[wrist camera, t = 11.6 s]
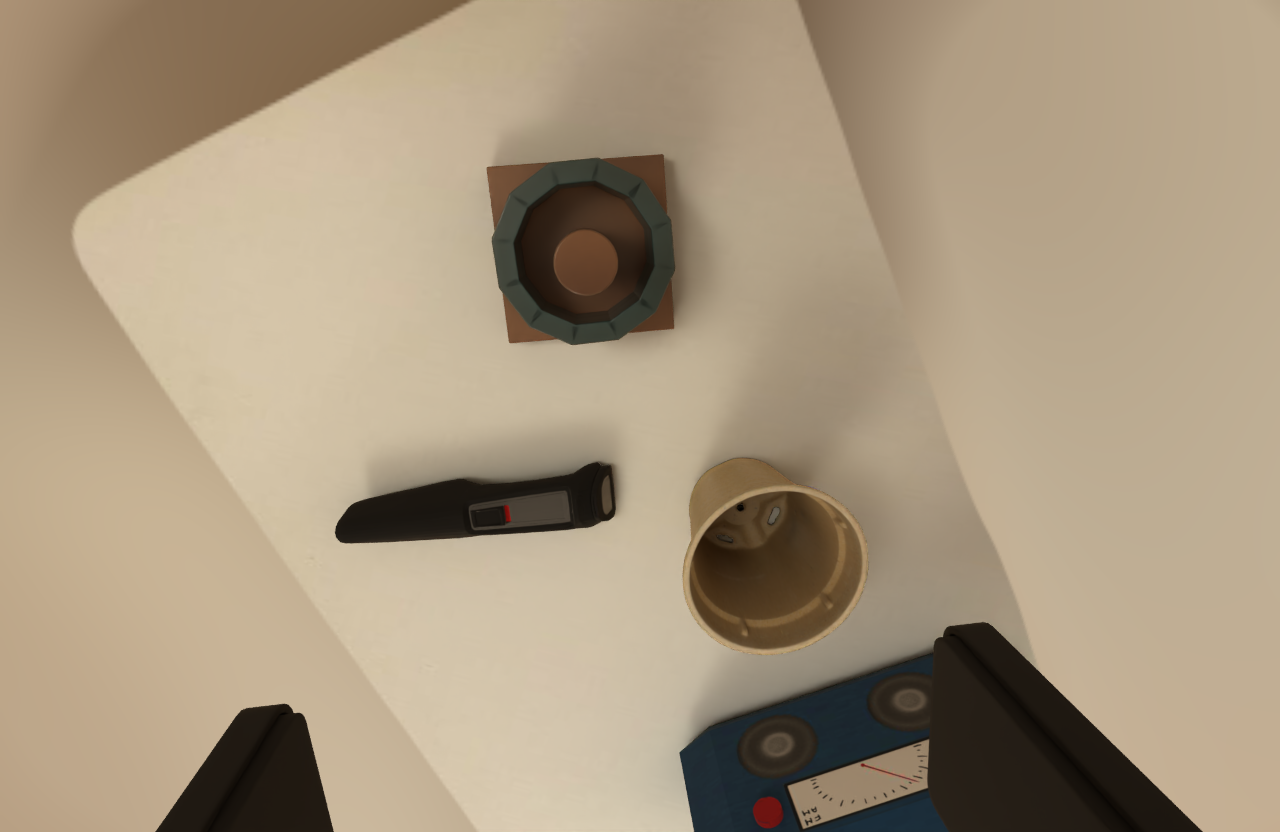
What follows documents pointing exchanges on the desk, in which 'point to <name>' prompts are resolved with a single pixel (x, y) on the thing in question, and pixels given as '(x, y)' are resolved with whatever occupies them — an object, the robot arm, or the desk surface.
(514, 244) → the ring
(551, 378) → the desk surface
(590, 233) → the stand
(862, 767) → the radio
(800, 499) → the flower pot
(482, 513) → the electric trimmer
